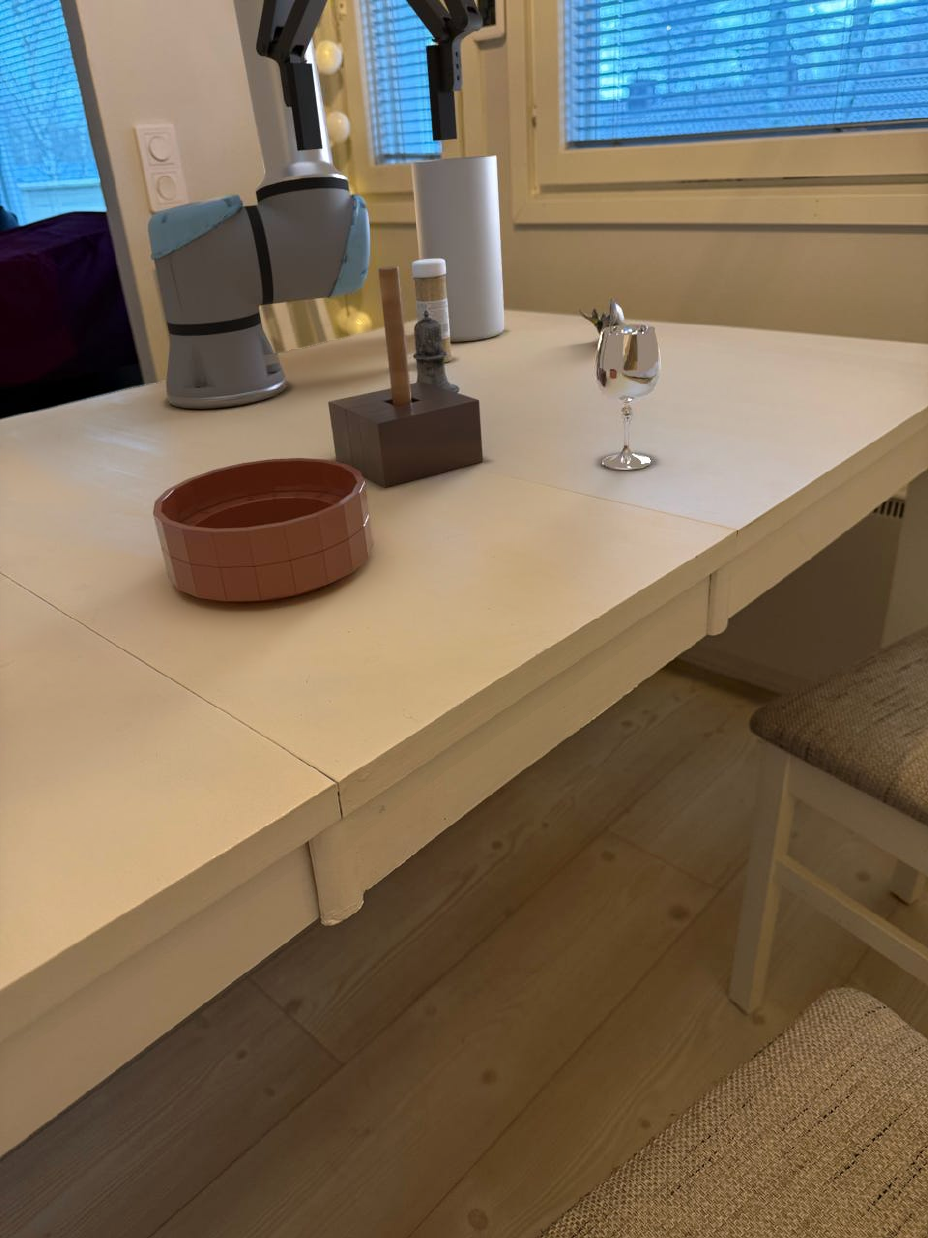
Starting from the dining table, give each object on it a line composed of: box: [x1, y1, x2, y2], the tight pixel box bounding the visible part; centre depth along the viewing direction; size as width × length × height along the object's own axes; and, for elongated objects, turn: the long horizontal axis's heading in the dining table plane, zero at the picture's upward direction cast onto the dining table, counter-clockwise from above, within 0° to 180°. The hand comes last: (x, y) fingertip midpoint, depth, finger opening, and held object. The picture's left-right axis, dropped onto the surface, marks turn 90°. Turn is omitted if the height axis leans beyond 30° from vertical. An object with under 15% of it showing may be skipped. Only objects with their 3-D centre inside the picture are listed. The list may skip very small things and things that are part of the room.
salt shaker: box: [412, 310, 460, 393], centre depth 99 cm, size 6×6×12 cm
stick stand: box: [327, 381, 484, 488], centre depth 89 cm, size 11×11×6 cm
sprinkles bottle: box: [411, 259, 453, 363], centre depth 126 cm, size 5×5×14 cm
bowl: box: [152, 457, 374, 603], centre depth 68 cm, size 15×15×6 cm
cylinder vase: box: [410, 154, 505, 343], centre depth 139 cm, size 12×12×25 cm
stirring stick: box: [377, 265, 412, 406], centre depth 86 cm, size 2×2×18 cm
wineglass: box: [594, 323, 662, 471], centre depth 82 cm, size 6×6×12 cm
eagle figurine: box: [578, 298, 627, 336], centre depth 130 cm, size 8×7×9 cm
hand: (375, 145), depth 77 cm, fingers open, 13 cm apart
